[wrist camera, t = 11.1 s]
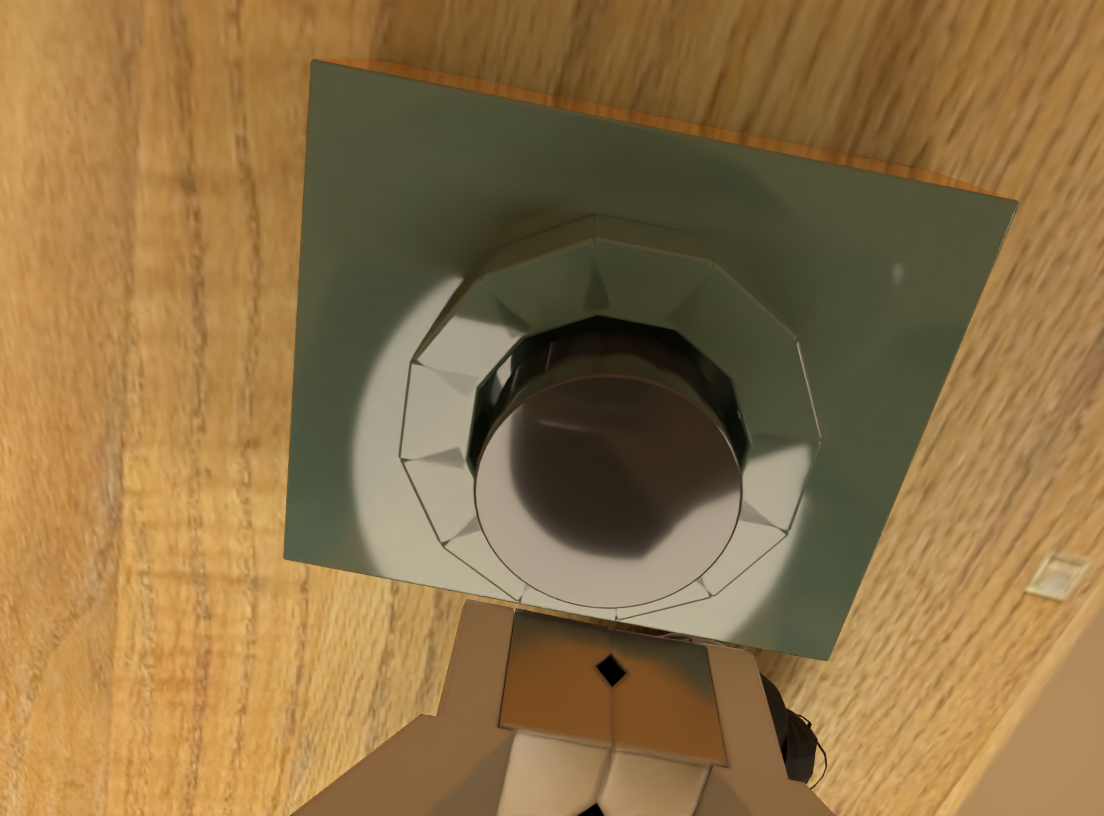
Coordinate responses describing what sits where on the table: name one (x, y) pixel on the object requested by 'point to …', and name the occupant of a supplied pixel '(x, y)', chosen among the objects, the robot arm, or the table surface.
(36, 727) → the table surface
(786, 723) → the toy figure
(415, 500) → the green push button box
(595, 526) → the knob
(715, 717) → the robot arm
